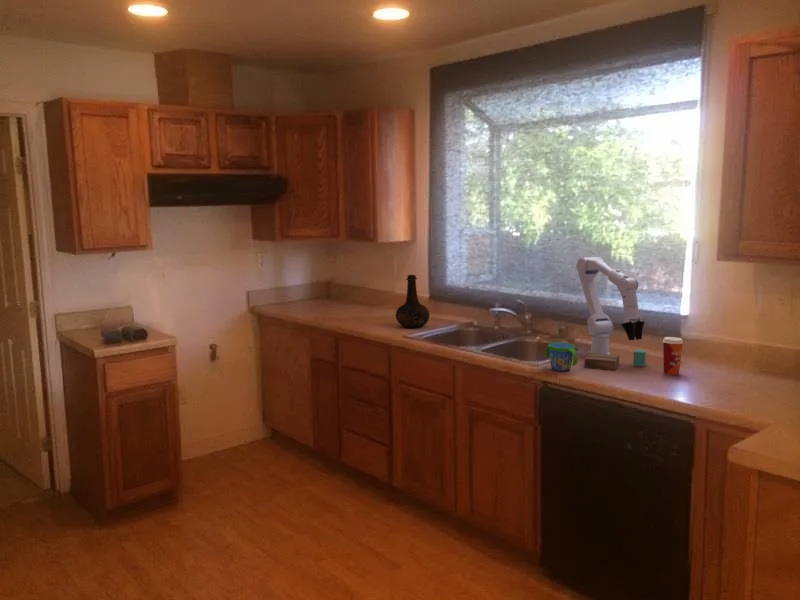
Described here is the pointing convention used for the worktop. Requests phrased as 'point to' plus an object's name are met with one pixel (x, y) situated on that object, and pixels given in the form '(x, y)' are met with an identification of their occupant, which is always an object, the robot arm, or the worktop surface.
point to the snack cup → (561, 356)
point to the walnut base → (602, 361)
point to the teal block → (639, 358)
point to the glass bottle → (412, 308)
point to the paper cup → (672, 355)
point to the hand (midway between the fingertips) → (635, 339)
